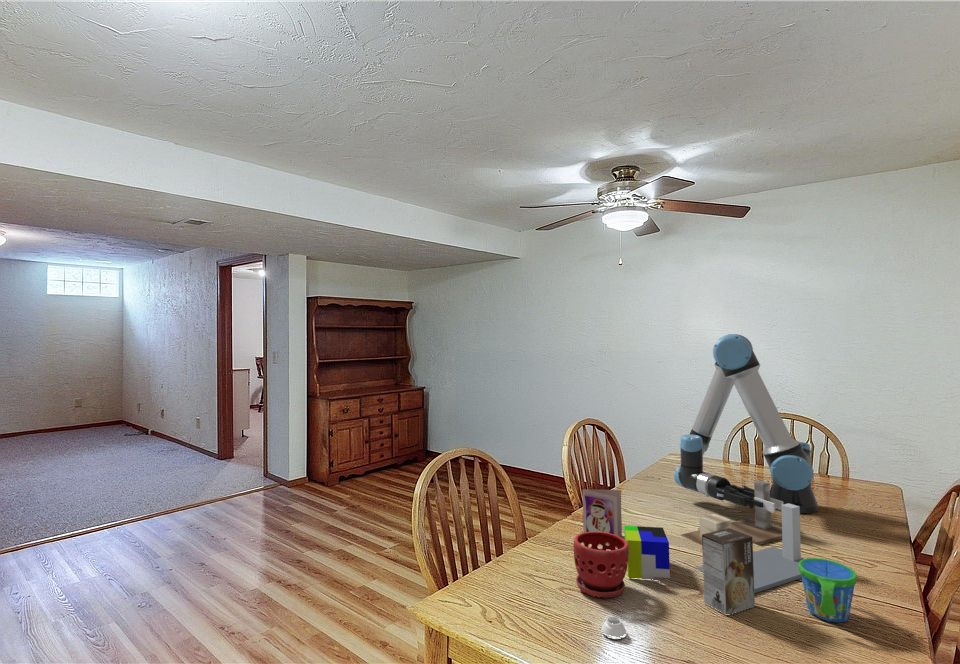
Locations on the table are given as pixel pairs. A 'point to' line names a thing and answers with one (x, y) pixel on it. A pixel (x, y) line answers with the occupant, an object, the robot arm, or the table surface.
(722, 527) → the beech block
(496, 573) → the table surface
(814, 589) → the snack cup
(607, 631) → the grey tapered hollow piece
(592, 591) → the plant pot
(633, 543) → the puzzle toy
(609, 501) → the greeting card
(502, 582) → the table surface
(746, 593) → the coffee box
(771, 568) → the base plate with post
